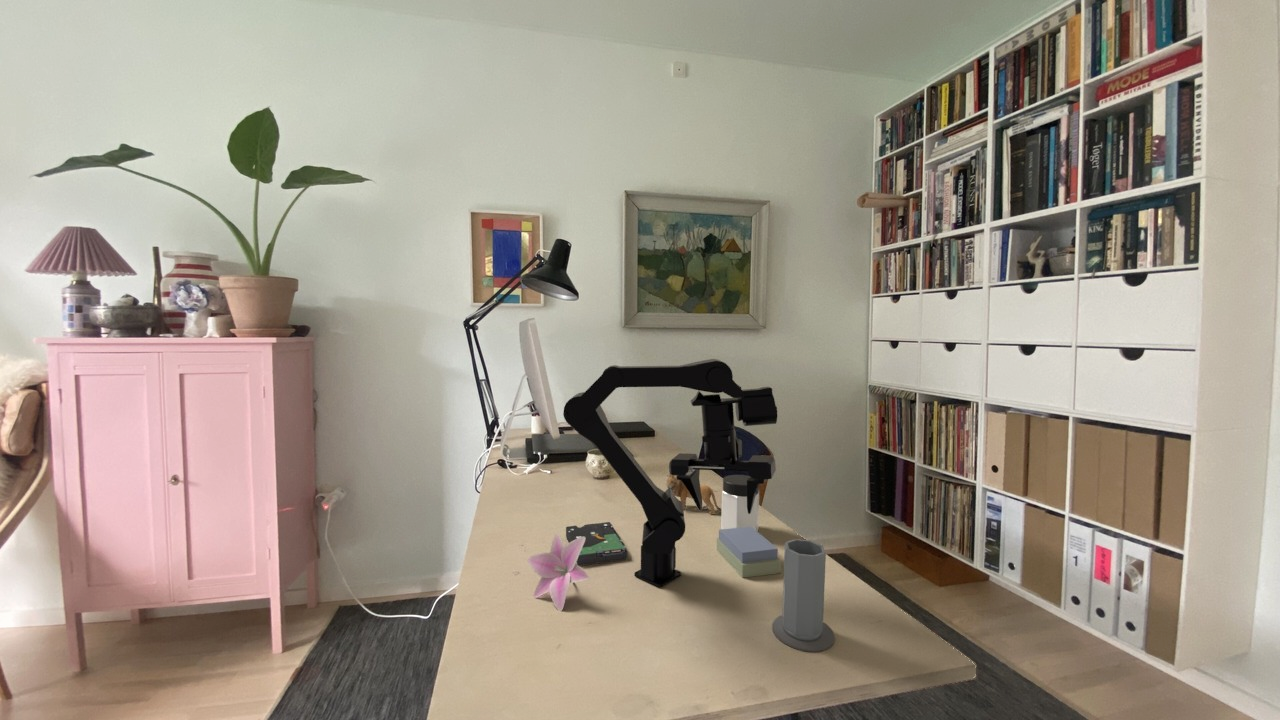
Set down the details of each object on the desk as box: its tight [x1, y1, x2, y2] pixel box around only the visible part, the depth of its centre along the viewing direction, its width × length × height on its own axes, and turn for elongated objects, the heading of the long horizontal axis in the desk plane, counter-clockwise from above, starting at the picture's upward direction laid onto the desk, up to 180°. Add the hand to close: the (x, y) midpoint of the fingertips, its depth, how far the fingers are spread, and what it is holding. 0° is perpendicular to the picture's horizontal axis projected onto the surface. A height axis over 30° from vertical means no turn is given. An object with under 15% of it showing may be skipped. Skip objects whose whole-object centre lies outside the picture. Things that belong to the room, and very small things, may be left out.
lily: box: [526, 533, 590, 612], centre depth 87 cm, size 12×12×10 cm
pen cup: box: [782, 538, 827, 642], centre depth 76 cm, size 6×6×13 cm
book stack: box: [716, 527, 782, 579], centre depth 99 cm, size 12×8×4 cm, turn 14°
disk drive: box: [565, 521, 628, 567], centre depth 105 cm, size 10×3×15 cm
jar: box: [720, 474, 760, 532], centre depth 114 cm, size 9×8×12 cm
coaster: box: [771, 615, 835, 653], centre depth 76 cm, size 9×9×1 cm
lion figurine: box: [665, 473, 722, 516], centre depth 128 cm, size 15×5×9 cm, turn 73°
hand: (724, 511), depth 92 cm, fingers open, 9 cm apart
